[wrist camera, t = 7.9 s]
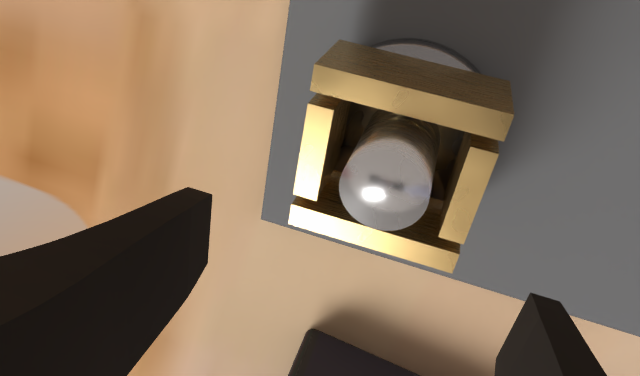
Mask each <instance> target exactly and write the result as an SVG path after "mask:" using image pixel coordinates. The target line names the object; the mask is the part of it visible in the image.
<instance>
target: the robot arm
mask: <svg viewBox="0 0 640 376" xmlns="http://www.w3.org/2000/svg"><path fill="white" fill-rule="evenodd" d="M211 207H212V194H209V193H206V192H202V191H199V190H196V189H193V188H189V187H187V188H184V189H182V190H179V191H177V192H174V193H172V194H170V195H167V196H165V197H163V198H161V199H158V200H156V201H154V202H151V203H149V204H147V205H145V206H142V207H140V208H138V209H135V210H133V211H131V212H128V213H126V214H124V215H121V216H119V217H117V218H114V219H112V220H109V221H107V222H104V223H102V224H99V225H96V226H94V227H91V228H88V229H86V230H83V231H80V232H78V233H75V234H72V235H70V236H67V237H65V238H61V239H58V240H56V241H52V242H50V243H46V244H43V245H40V246H36V247H33V248H29V249H26V250H23V251H19V252H16V253H12V254H8V255H4V256H0V376H127V375H128V374H129V372H130V371H131V370H132V368H133V367H134V366H135V365H136V363H137V362H138V361H139V360H140V358H141V357H142V356H143V354H144V353H145V352H146V351H147V349H148V348H149V347H150V345H151V344H152V343H153V342H154V340H155V339H156V338H157V337H158V335H159V334H160V333H161V331H162V330H163V329H164V328H165V326H166V325H167V324H168V323H169V321H170V320H171V319H172V317H173V316H174V315H175V313H176V312H177V311H178V310H179V308H180V307H181V306H182V304H183V303H184V302H185V300H186V299H187V298H188V296H189V294H190V293H191V291H192V289H193V288H194V286H195V284H196V283H197V281H198V279H199V277H200V276H201V274H202V272H203V270H204V268H205V267H206V265H207V263H208V249H209V235H210V221H211ZM495 376H607V375H606V373H605V372H604V370H603V369H602V367H601V366H600V364H599V363H598V361H597V359H596V358H595V356H594V355H593V353H592V351H591V350H590V348H589V347H588V345H587V343H586V342H585V340H584V339H583V337H582V335H581V334H580V332H579V331H578V329H577V327H576V326H575V324H574V322H573V321H572V319H571V318H570V316H569V314H568V313H567V311H566V310H565V308H564V307H563V305H562V304H561V302H560V301H557V300H554V299H550V298H547V297H544V296H541V295H537V294H534V293H531V292H530V294H529V296H528V298H527V300H526V302H525V304H524V306H523V307H522V309H521V311H520V313H519V315H518V317H517V319H516V321H515V323H514V325H513V327H512V329H511V331H510V333H509V334H508V336H507V338H506V340H505V342H504V344H503V346H502V348H501V350H500V352H499V354H498V356H497V358H496V366H495Z"/></svg>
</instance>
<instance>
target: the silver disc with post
mask: <svg viewBox="0 0 640 376" xmlns="http://www.w3.org/2000/svg"><path fill="white" fill-rule="evenodd" d="M369 47H373V48H377V49H381V50H385V51H389V52H393V53H397V54H401V55H405V56H409V57H414V58H418V59H422V60H426V61H430V62H434V63H438V64H442V65H446V66H450V67H454V68H459V69H463V70H467V71H471V72H475V73H479V74H481V73H480V71H479V70H478V69H477V68H476V67H475V66H474V65H473V64H472V63H471V62H470V61H469V60H467V59H466V58H465V57H464V56H462V55H461V54H459V53H458V52H456V51H455V50H453V49H451V48H449V47H446V46H444V45H442V44H439V43H436V42H433V41H429V40H423V39H416V38H400V39H391V40H387V41H383V42H379V43H377V44H374V45H371V46H369ZM464 133H465V131H461V130H458V129H454V128H450V127H446V126H442V125H439V124H435V123H431V122H427V121H423V120H420V119H416V118H412V117H408V116H404V115H400V114H397V113H393V112H389V111H385V110H381V109H378V108H374V107H370V106H366V105H362V104H359V103H355V102H351V104H350V109H349V114H348V118H347V123H346V128H345V133H344V138H343V142H342V147H341V152H340V157H339V161H338V163H337V165H336V167H335V169H334V170H337V171H340V172H342V174H341V177H340V181H339V193H340V197H341V200H342V203H343V205H344V207H345V208H346V210H347V211H348V212H349V214H350V215H351V216H352V217H353V218H355V219H356V220H357V221H359V222H360V223H362V224H364V225H366V226H368V227H370V228H373V229H377V230H383V231H393V230H400V229H403V228H406V227H408V226H410V225H412V224H414V223H415V222H416V221H417V220H419V219H420V218H421V216H422V215H423V214H424V212H425V211H426V209H427V206H428V203H429V199H430V197H432V198H435V199H439V200H442V201H443V199H444V192H445V189H446V186H447V183H448V180H449V177H450V174H451V171H452V168H453V165H454V162H455V160H456V157H457V154H458V151H459V148H460V145H461V142H462V139H463V136H464ZM498 142H499V140H498Z"/></svg>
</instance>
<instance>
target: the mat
mask: <svg viewBox="0 0 640 376" xmlns="http://www.w3.org/2000/svg"><path fill="white" fill-rule="evenodd" d="M400 38H416V39H423V40H429V41H433V42H436V43H439V44H442V45H444V46H446V47H449V48H451V49H453V50H455V51H456V52H458V53H459V54H461V55H462V56H464V57H465V58H466V59H467V60H469V61H470V62H471V63H472V64H473V65H474V66H475V67H476V68H477V69H478V70H479V71H480V73H481V74H483V75H487V76H491V77H495V78H499V79H504V80H508V81H510V84H511V92H512V100H513V108H514V117H513V120H512V122H511V125H510V128H509V130H508V133H507V135H506V138H505V140H504V142H503V141H500V140H499V142H498V145H499V156H498V158H497V161H496V163H495V166H494V168H493V171H492V173H491V176H490V179H489V181H488V184H487V186H486V189H485V191H484V194H483V196H482V199H481V201H480V204H479V207H478V209H477V212H476V214H475V217H474V219H473V222H472V224H471V227H470V230H469V232H468V235H467V237H466V240H465V242H464V244H460V255H459V258H458V260H457V263H456V265H455V268H454V270H453V273H448V272H445V271H442V270H439V269H435V268H432V267H429V266H425V265H422V264H419V263H416V262H412V261H409V260H406V259H402V258H399V257H396V256H393V255H389V254H386V253H383V252H379V251H376V250H373V249H370V248H366V247H363V246H360V245H356V244H353V243H350V242H347V241H343V240H340V239H337V238H333V237H330V236H327V235H324V234H320V233H317V232H314V231H310V230H307V229H304V228H301V227H297V226H294V225H291V224H288V222H289V216H290V210H291V204H292V203H293V201H294V199H295V198H296V196H297V195H294V194H293V192H294V185H295V179H296V173H297V167H298V161H299V155H300V148H301V142H302V136H303V130H304V124H305V118H306V111H307V105H308V103H309V101H310V100H311V99H312V98H313V97H314V96H315V95H316V93H317V92H313V91H310V87H311V81H312V74H313V68H314V64H315V63H316V62H317V61H318V60H319V59H320V58H321V57H322V56H323V55H324V54H325V53H326V52H327V51H328V50H329V49H330V48H331V47H332V46H333V45H334V44H335V43H336V42H337V41H338V40H339V39H340V40H344V41H348V42H352V43H356V44H360V45H365V46H371V45H374V44H377V43H379V42H383V41H387V40H391V39H400ZM261 219H262V220H265V221H268V222H272V223H275V224H278V225H281V226H284V227H288V228H291V229H294V230H297V231H301V232H304V233H307V234H310V235H313V236H317V237H320V238H323V239H326V240H330V241H333V242H336V243H339V244H342V245H346V246H349V247H352V248H355V249H359V250H362V251H365V252H368V253H371V254H375V255H378V256H381V257H384V258H388V259H391V260H394V261H397V262H400V263H404V264H407V265H410V266H413V267H417V268H420V269H423V270H426V271H429V272H433V273H436V274H439V275H442V276H446V277H449V278H452V279H455V280H459V281H462V282H465V283H468V284H471V285H475V286H478V287H481V288H484V289H488V290H491V291H494V292H497V293H500V294H504V295H507V296H510V297H513V298H517V299H520V300H523V301H526V300H527V298H528V296H529V294H530V292H531V293H534V294H537V295H541V296H544V297H547V298H550V299H554V300H557V301H560V302H561V304H562V305H563V307H564V308H565V310H566V311H567V313H568V314H569V315H571V316H575V317H578V318H581V319H584V320H587V321H591V322H594V323H597V324H600V325H604V326H607V327H610V328H613V329H617V330H620V331H623V332H626V333H629V334H633V335H636V336H639V337H640V0H290V5H289V13H288V20H287V28H286V35H285V43H284V50H283V58H282V65H281V73H280V80H279V88H278V95H277V103H276V110H275V118H274V125H273V133H272V140H271V148H270V155H269V163H268V170H267V178H266V185H265V193H264V200H263V208H262V215H261Z"/></svg>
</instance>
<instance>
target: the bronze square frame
mask: <svg viewBox="0 0 640 376" xmlns="http://www.w3.org/2000/svg"><path fill="white" fill-rule="evenodd" d="M310 91H313V92H317V93H316V95H315V96H314V97H313V98H312V99H311V100H310V101H309V103H308V105H307V111H306V118H305V124H304V130H303V136H302V142H301V148H300V155H299V161H298V167H297V173H296V179H295V185H294V192H293V194H294V195H297V196H296V198H295V199H294V201H293V203H292V204H291V210H290V216H289V222H288V224H291V225H294V226H297V227H301V228H304V229H307V230H310V231H314V232H317V233H320V234H324V235H327V236H330V237H333V238H337V239H340V240H343V241H347V242H350V243H353V244H356V245H360V246H363V247H366V248H370V249H373V250H376V251H379V252H383V253H386V254H389V255H393V256H396V257H399V258H402V259H406V260H409V261H412V262H416V263H419V264H422V265H425V266H429V267H432V268H435V269H439V270H442V271H445V272H448V273H453V270H454V268H455V265H456V263H457V260H458V258H459V255H460V244H464V242H465V240H466V237H467V235H468V232H469V230H470V227H471V224H472V222H473V219H474V217H475V214H476V212H477V209H478V207H479V204H480V201H481V199H482V196H483V194H484V191H485V189H486V186H487V184H488V181H489V179H490V176H491V173H492V171H493V168H494V166H495V163H496V161H497V158H498V156H499V145H498V140H500V141H503V142H504V140H505V138H506V135H507V133H508V130H509V128H510V125H511V122H512V120H513V117H514V108H513V100H512V92H511V84H510V81H508V80H504V79H499V78H495V77H491V76H487V75H483V74H479V73H475V72H471V71H467V70H463V69H459V68H454V67H450V66H446V65H442V64H438V63H434V62H430V61H426V60H422V59H418V58H414V57H409V56H405V55H401V54H397V53H393V52H389V51H385V50H381V49H377V48H373V47H369V46H365V45H360V44H356V43H352V42H348V41H344V40H340V39H339V40H338V41H337V42H336V43H335V44H334V45H333V46H332V47H331V48H330V49H329V50H328V51H327V52H326V53H325V54H324V55H323V56H322V57H321V58H320V59H319V60H318V61H317V62H316V63H315V64H314V68H313V74H312V81H311V87H310ZM351 102H355V103H359V104H362V105H366V106H370V107H374V108H378V109H381V110H385V111H389V112H393V113H397V114H400V115H404V116H408V117H412V118H416V119H420V120H423V121H427V122H431V123H435V124H439V125H442V126H446V127H450V128H454V129H458V130H461V131H465V133H464V136H463V139H462V142H461V145H460V148H459V151H458V154H457V157H456V160H455V162H454V165H453V168H452V171H451V174H450V177H449V180H448V183H447V186H446V189H445V192H444V199H443V201H442V200H439V199H435V198H432V197H430V199H429V203H428V206H427V209H426V211H425V212H424V214H423V215H422V216H421V218H420V219H419V220H417V221H416V222H415V223H414V224H412V225H410V226H408V227H406V228H403V229H400V230H393V231H383V230H377V229H373V228H370V227H368V226H366V225H364V224H362V223H360V222H359V221H357V220H356V219H355V218H353V217H352V216H351V215H350V214H349V212H348V211H347V210H346V208H345V207H344V205H343V203H342V200H341V197H340V193H339V181H340V177H341V174H342V172H340V171H337V170H334V169H335V167H336V165H337V163H338V161H339V157H340V152H341V147H342V142H343V138H344V133H345V128H346V123H347V118H348V114H349V109H350V104H351Z"/></svg>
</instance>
